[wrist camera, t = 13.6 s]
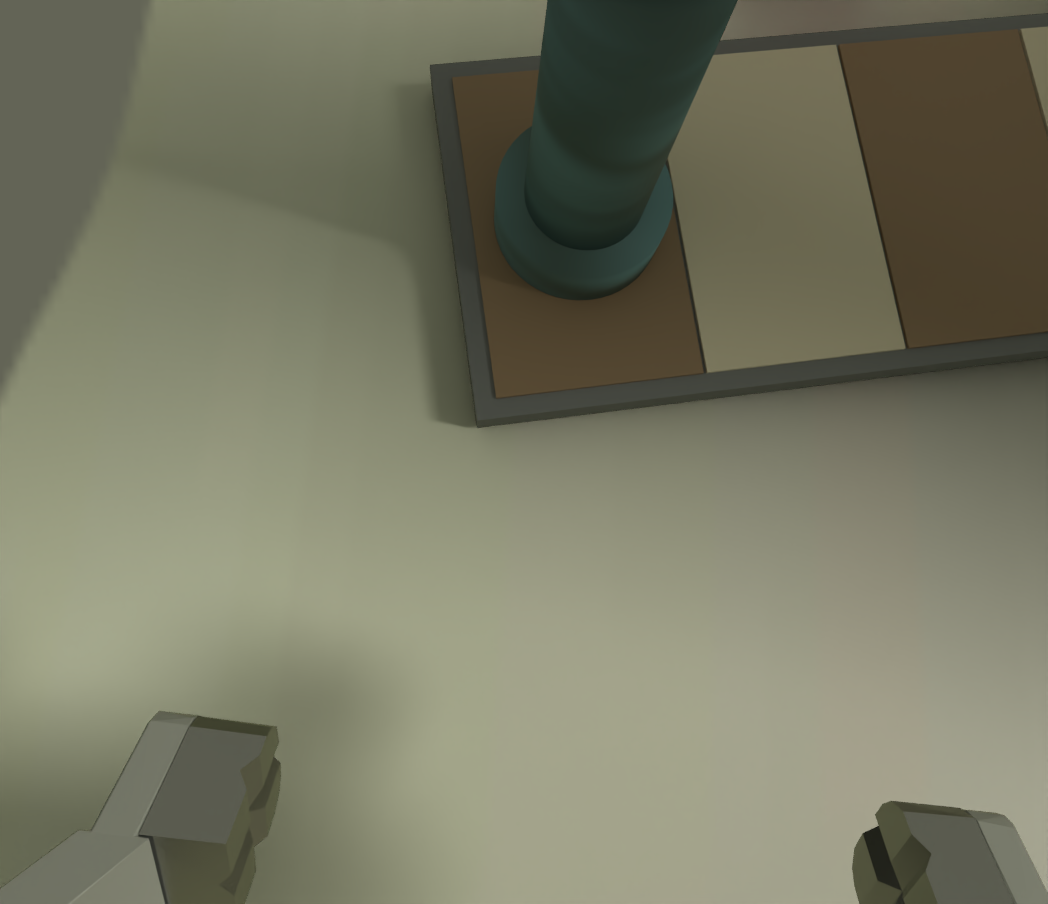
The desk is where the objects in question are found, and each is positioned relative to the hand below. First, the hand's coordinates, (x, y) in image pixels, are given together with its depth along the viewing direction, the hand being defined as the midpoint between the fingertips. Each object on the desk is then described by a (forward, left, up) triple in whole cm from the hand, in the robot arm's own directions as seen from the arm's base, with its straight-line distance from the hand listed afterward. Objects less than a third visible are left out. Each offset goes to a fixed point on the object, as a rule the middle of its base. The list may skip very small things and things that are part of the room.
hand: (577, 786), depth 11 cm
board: (-11, -12, -9) cm, 19 cm away
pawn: (-3, -12, -8) cm, 15 cm away
